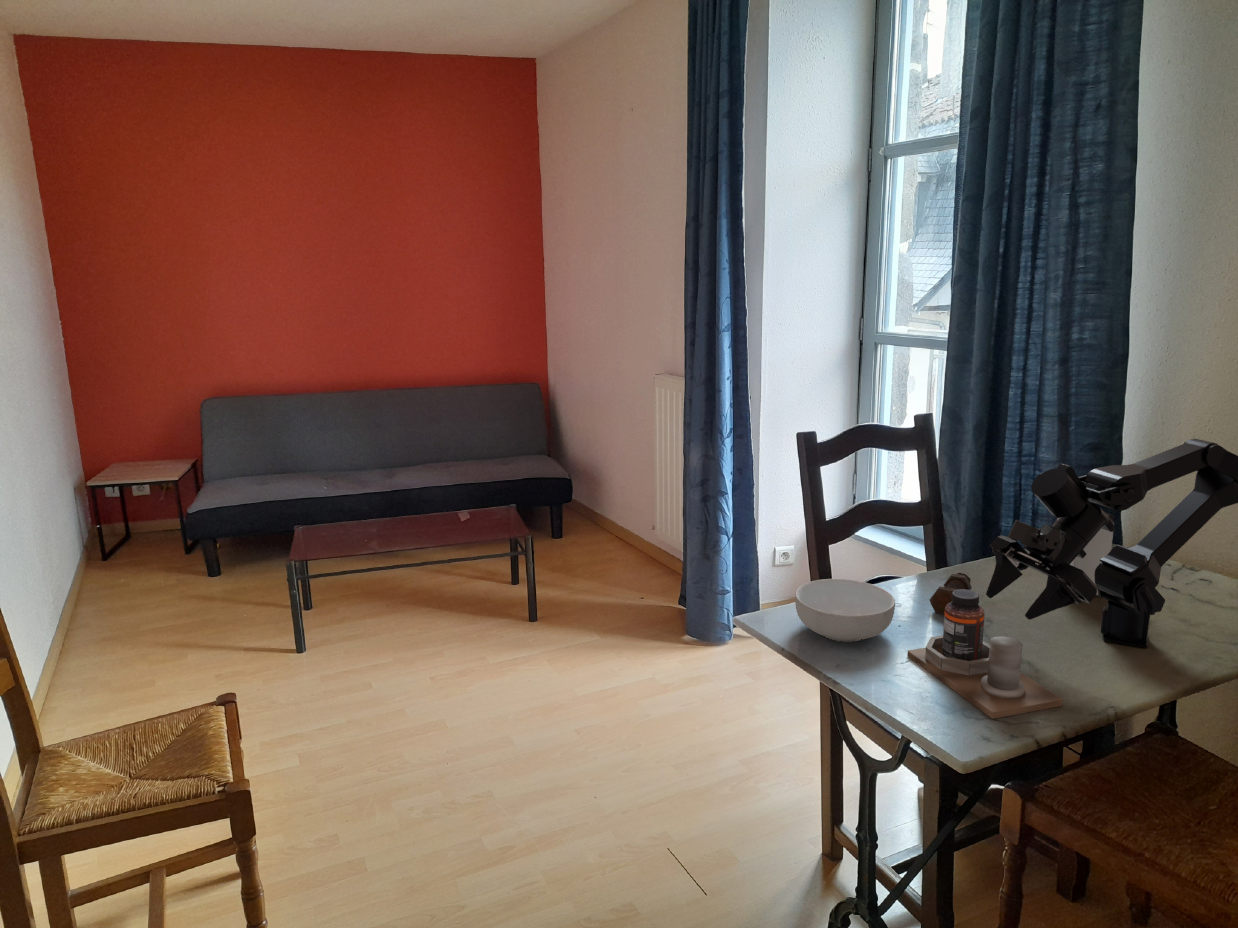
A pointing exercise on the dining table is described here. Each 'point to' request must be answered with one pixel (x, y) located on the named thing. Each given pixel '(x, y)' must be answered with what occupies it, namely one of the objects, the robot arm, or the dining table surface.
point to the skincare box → (1094, 553)
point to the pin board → (986, 699)
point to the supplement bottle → (963, 626)
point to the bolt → (949, 591)
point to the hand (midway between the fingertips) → (1006, 606)
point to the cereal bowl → (844, 608)
